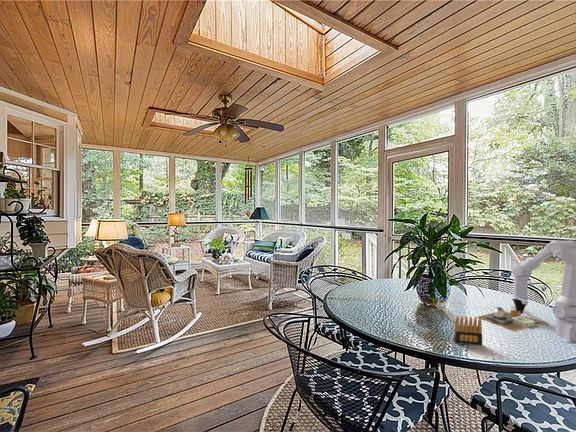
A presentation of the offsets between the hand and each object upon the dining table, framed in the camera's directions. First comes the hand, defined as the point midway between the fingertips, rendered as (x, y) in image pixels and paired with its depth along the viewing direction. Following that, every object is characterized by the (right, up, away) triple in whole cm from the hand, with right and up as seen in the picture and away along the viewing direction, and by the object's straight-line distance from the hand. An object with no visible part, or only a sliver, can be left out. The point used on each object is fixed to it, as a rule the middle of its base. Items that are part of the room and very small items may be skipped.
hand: (519, 313), depth 153 cm
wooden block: (-6, -1, -3) cm, 7 cm away
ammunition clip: (-45, -4, -27) cm, 53 cm away
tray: (-6, -3, -9) cm, 11 cm away
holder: (-10, -3, -5) cm, 12 cm away
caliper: (-38, -3, +3) cm, 38 cm away
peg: (-16, -2, -6) cm, 17 cm away
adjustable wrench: (+7, -3, +4) cm, 9 cm away
